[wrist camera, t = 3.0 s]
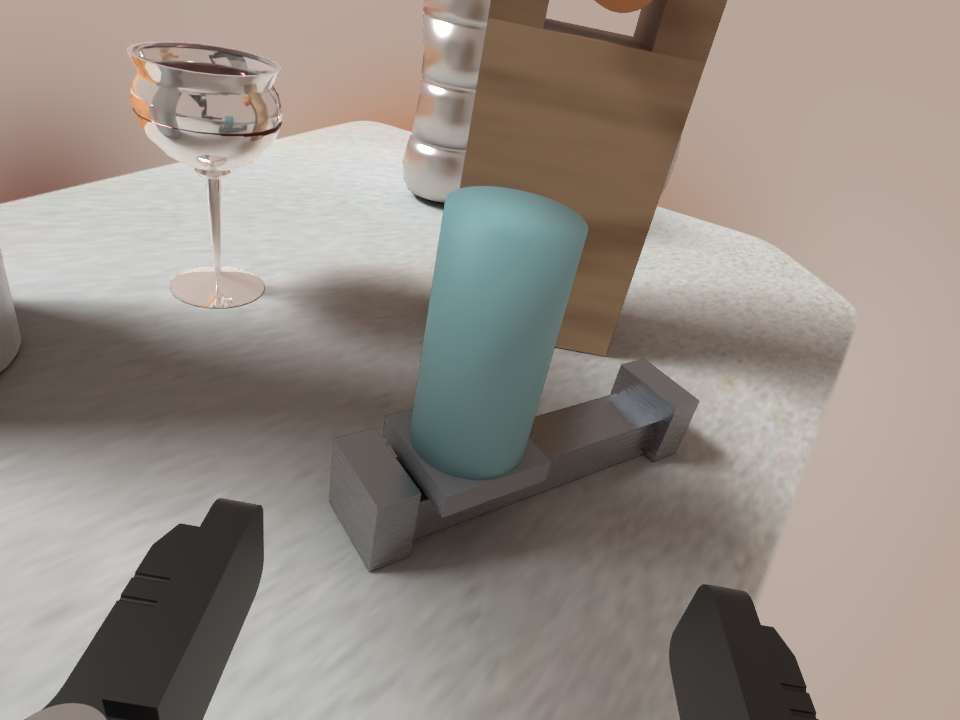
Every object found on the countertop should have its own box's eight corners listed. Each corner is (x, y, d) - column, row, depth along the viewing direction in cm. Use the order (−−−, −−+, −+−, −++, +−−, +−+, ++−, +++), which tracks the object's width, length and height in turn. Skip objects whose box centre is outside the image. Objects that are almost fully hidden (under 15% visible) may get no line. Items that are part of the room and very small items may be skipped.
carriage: (382, 435, 25) (414, 187, 20) (480, 409, 27) (531, 182, 22) (442, 517, 22) (498, 252, 17) (544, 480, 24) (622, 238, 19)
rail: (329, 501, 25) (333, 438, 23) (624, 409, 33) (644, 358, 32) (369, 572, 22) (377, 508, 21) (675, 453, 31) (699, 401, 29)
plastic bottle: (409, 178, 58) (441, -89, 47) (482, 195, 57) (532, -69, 47) (390, 200, 52) (422, -96, 41) (471, 219, 52) (523, -74, 41)
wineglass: (124, 298, 34) (89, 50, 27) (193, 249, 39) (178, 35, 33) (247, 327, 33) (242, 85, 27) (299, 275, 39) (305, 64, 33)
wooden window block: (612, 357, 38) (791, -158, 25) (437, 324, 37) (526, -219, 24) (602, 309, 43) (747, -140, 30) (448, 279, 42) (527, -190, 29)
